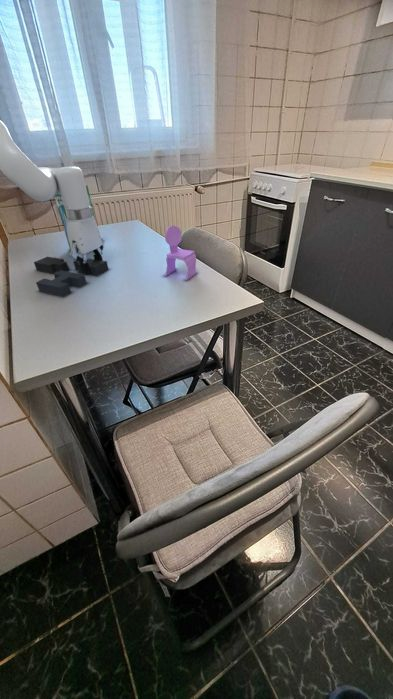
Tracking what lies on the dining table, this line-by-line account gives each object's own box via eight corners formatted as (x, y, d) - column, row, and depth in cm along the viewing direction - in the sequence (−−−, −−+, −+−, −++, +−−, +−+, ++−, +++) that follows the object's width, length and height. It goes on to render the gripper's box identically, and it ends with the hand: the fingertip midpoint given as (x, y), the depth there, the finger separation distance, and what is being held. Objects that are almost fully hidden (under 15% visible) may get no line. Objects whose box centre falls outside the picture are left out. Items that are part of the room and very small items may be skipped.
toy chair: (186, 282, 92) (183, 232, 83) (162, 277, 96) (157, 229, 87) (198, 272, 98) (197, 225, 89) (176, 268, 101) (173, 222, 92)
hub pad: (39, 291, 90) (35, 282, 88) (63, 278, 97) (60, 270, 95) (63, 297, 86) (60, 287, 85) (86, 283, 94) (84, 274, 92)
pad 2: (72, 271, 102) (69, 263, 100) (84, 265, 106) (82, 257, 105) (97, 276, 98) (94, 267, 96) (108, 269, 102) (106, 261, 101)
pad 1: (36, 270, 104) (33, 262, 102) (50, 264, 108) (47, 256, 106) (59, 274, 100) (56, 266, 98) (72, 268, 104) (69, 260, 102)
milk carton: (101, 247, 123) (86, 178, 107) (84, 253, 117) (65, 181, 102) (87, 243, 127) (70, 177, 112) (69, 249, 121) (49, 180, 106)
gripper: (89, 207, 98) (101, 260, 109) (48, 219, 86) (67, 277, 97) (107, 208, 95) (117, 262, 106) (67, 221, 83) (84, 281, 94)
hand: (93, 269), depth 101 cm, fingers closed on pad 2, 6 cm apart
